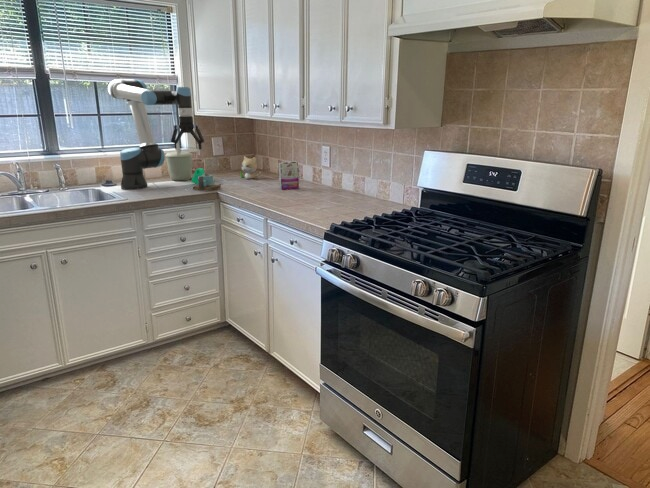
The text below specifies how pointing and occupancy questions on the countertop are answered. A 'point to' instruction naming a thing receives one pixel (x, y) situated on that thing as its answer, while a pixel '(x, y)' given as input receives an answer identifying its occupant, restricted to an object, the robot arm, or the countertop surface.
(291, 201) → the countertop surface
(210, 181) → the teal stepped block
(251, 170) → the cream rounded figure
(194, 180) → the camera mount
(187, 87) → the robot arm
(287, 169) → the candy bar box
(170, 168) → the canister
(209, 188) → the post block
